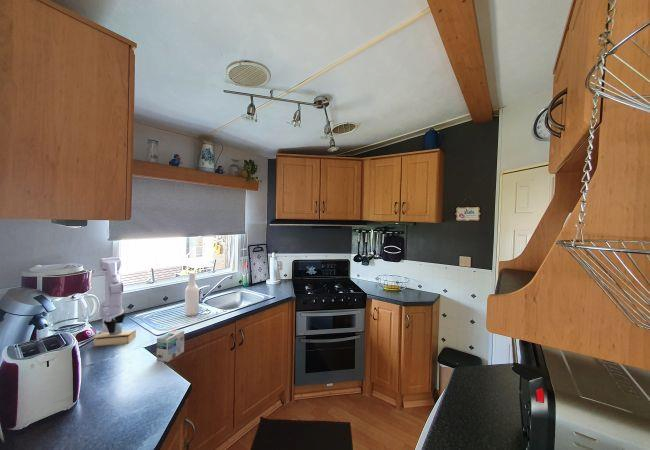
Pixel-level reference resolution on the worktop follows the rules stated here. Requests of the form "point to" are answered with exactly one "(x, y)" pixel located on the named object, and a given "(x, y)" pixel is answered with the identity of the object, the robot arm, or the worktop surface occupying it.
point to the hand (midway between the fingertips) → (115, 329)
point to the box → (114, 340)
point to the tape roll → (117, 329)
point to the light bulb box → (170, 345)
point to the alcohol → (191, 296)
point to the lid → (106, 334)
